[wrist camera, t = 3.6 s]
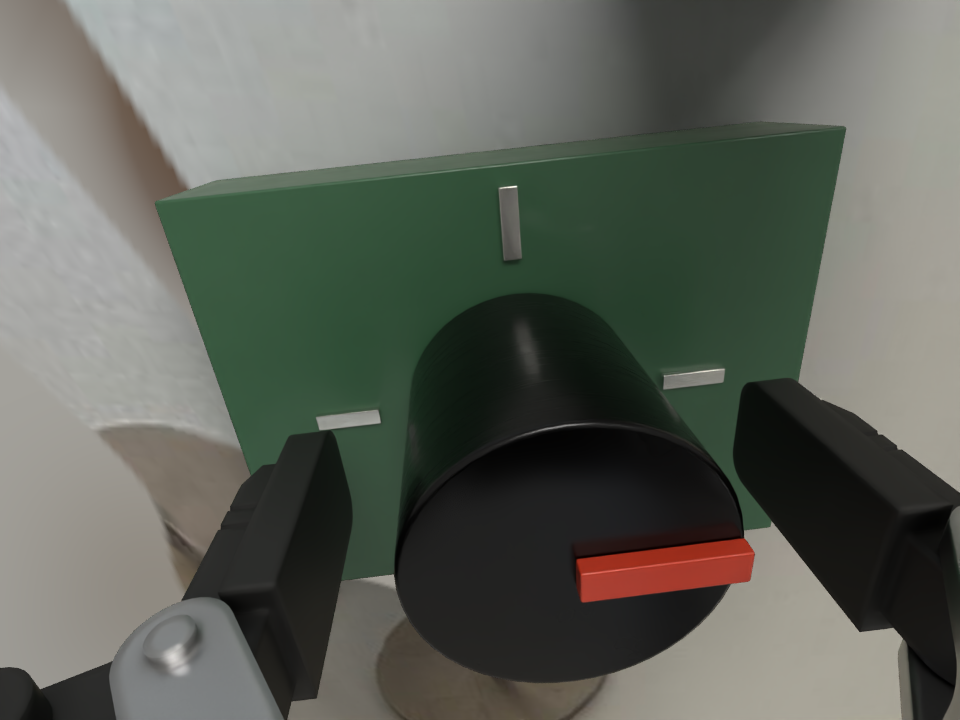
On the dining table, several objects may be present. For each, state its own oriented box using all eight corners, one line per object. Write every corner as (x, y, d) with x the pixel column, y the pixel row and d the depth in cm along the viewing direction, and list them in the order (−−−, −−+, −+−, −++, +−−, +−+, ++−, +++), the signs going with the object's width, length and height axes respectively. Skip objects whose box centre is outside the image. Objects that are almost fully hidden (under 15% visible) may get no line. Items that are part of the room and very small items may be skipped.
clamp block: (313, 510, 17) (288, 592, 14) (214, 180, 12) (147, 202, 10) (718, 461, 17) (774, 532, 14) (761, 121, 13) (853, 126, 10)
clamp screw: (427, 497, 13) (420, 723, 8) (393, 306, 11) (357, 463, 6) (627, 472, 13) (736, 682, 8) (634, 278, 11) (786, 412, 6)
